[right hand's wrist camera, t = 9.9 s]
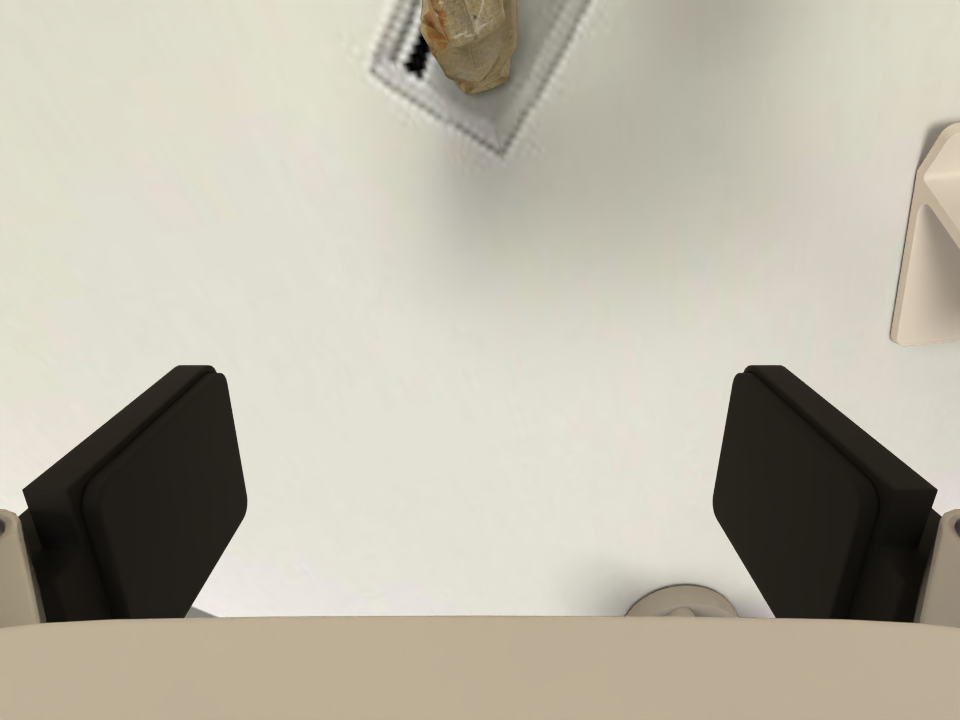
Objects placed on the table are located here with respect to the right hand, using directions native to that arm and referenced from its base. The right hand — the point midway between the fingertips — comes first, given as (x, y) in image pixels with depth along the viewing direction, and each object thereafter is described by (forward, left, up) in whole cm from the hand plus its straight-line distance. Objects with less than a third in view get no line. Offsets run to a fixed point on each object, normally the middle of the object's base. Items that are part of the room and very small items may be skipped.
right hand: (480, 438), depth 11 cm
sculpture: (-4, -10, -39) cm, 41 cm away
